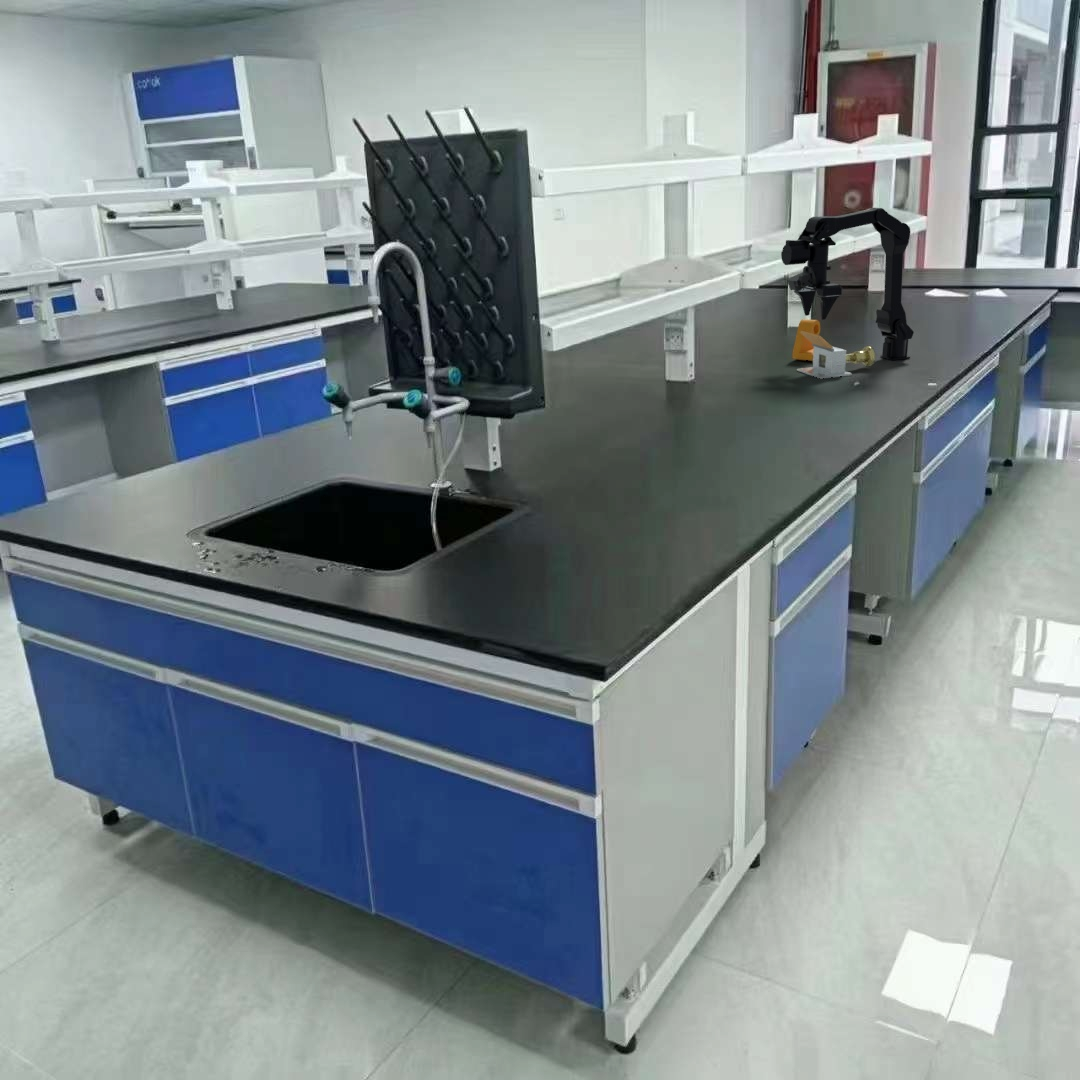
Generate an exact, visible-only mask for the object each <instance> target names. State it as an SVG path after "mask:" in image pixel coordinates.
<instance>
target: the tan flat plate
mask: <svg viewBox="0 0 1080 1080" xmlns="http://www.w3.org/2000/svg"><path fill="white" fill-rule="evenodd" d="M800 333H801V334H802V335H803V336H805V337H806V338H807V339H808V340H809V341H810V342H811V343H813V344H812V346H815V347H818V348H821V349H825V350H828V351H831V352H833V351H834V349H833V347H834V346H833V347H832V345H831V344H830V343H829V342H828V341H826V340H825V339H824V337H822V336H821V335H820V334H819V335H816V334H812V333H808V332H805V331H801V332H800Z"/></svg>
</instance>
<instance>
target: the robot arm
mask: <svg viewBox="0 0 1080 1080" xmlns="http://www.w3.org/2000/svg"><path fill="white" fill-rule="evenodd" d="M870 224H871V225H872V227H873V228H874V230H875V231H876V232H877V233H878V234H880V235H879V236H880V243H881V247H882V249H883V251H884V253H885V261H884V262H885V264H884V267H885V268H884V269H885V270H884V293H883V294H884V295H883V296H884V297H883V304H882V306H881V308H880V309H876V310H875V311H876V320H875V324H877V328H878V329H879V330H880V334H881V337H884V340H883V341H884V342H883V343H882V354H880V355H879V356H880V358H884V359H886V360H891V361H896V360H898V361H899V360H906V359H910V358H911V356H910V355H908V351H909V340H912V339H913V336H914V330H913V329H912V328H911V327H910V325H909V324H908V323H907V314H906V310H905V309H904V306H903V304H902V295H903V294H902V291H903V269H904V265H903V264H904V263H903V262H904V253H905V251H906V249H907V247H908V246H909V243H910V236H911V228H910V226H909V225H908V224H907V223H905V222H901V221H900V220H899V219H897V218H896V217H895V216H893V215H892V214H890V213H889V212H888V211H887V210H885V209H884V208H883V207H871V208H869V209H865V210H860V211H855V212H851V213H847V214H846V213H845V214H842V215H841V214H840V215H837V216H812V217H811V216H810V218H809V219H808V220H807V222H806V224H805V227H804V229H803V230H802V232H801V234H800V235H799V236H798V238H797V239H787V240H785V245H784V246H783V247H782V250H781V254H780V255H781V257H780V258H781V261H782V264H783V265H785V266H791V265H792V266H793V265H802V264H803V265H804V264H806V265H804V267H803V268H802V270H803V271H802V272H800V273H798V274H795V275H793V276H791V277H789V278H787V283H788V286H789V291H793V292H794V294H795V295H797V296H798V297H799V299H800V301H801V306H802V309H803V313H804V316H810V313H811V311H812V307H813V303H814V300H815V297H816V298H817V299H818V301H819V303H820V318H821V320H825V321H826V319H827V318H828V315H829V313H830V311H831V310H832V308H833V306H834V304H835V303H836V301H837V299H838V298H840V296H842V295H843V290H844V289H843V286H842V285H841V284H837V283H831V280H829V279H828V271H831V269H832V266H831V265H829V249H830V248H829V247H830V246H836V244H837V242H836V241H834V239H832V238H831V236H835V235H836V234H838V233H839V232H841V231H843V230H848V229H852V228H857V227H861V226H866V225H870ZM816 294H817V295H816Z"/></svg>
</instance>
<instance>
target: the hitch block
mask: <svg viewBox="0 0 1080 1080" xmlns="http://www.w3.org/2000/svg"><path fill="white" fill-rule="evenodd" d="M831 346H832V345H831ZM832 347H833V349H834V351H833V352H831V351H828V350H825V349H821V348H818V347H815V346H814V351H813V361H812V366H810V367H809V366H808V367H801V368H797V369H796V371H797V372H800V373H803V374H805V375H808V376H810V377H813V376H814V378H816V377H817V379H819V378H820V379H819V380H823V378H824V379H831V377H833V378H840V376H842V377H850V376H852V375H853V374H852V372H849V371H846V364H847V363H846V354H847V350H846V349H843V348H839V347H836V346H832Z"/></svg>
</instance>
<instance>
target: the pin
mask: <svg viewBox="0 0 1080 1080" xmlns="http://www.w3.org/2000/svg"><path fill="white" fill-rule="evenodd" d="M875 359H876V353H875V350H874V347H872V346H864V347H863V348H862V349H861V350H858V351H853V352H852V353H846V364H847V363H852V364H863V365H864V366H865V367H868V366H869V367H871V366H873V365H874V363H875Z"/></svg>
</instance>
